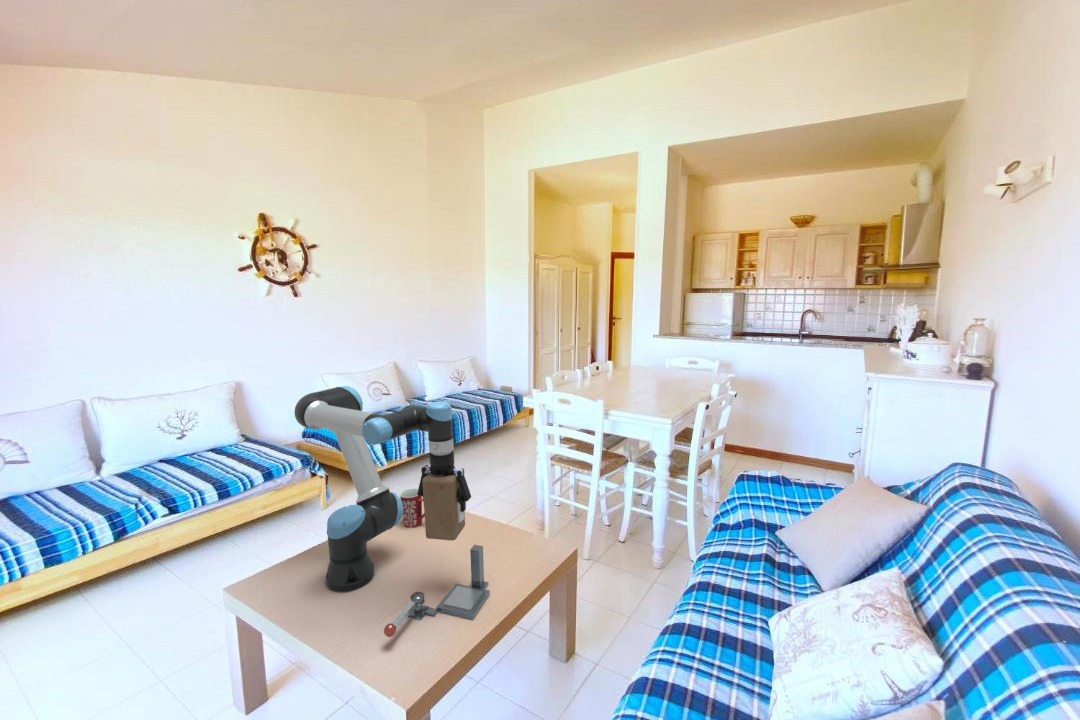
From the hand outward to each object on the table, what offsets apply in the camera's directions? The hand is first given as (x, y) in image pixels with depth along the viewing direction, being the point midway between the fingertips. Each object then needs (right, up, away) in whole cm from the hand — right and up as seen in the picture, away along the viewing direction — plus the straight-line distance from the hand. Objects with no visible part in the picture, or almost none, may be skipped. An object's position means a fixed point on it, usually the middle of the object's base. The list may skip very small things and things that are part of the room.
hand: (445, 518), depth 152 cm
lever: (-8, -23, -16) cm, 29 cm away
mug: (-20, -17, +43) cm, 51 cm away
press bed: (+3, -24, -4) cm, 25 cm away
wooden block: (0, -5, +1) cm, 5 cm away
